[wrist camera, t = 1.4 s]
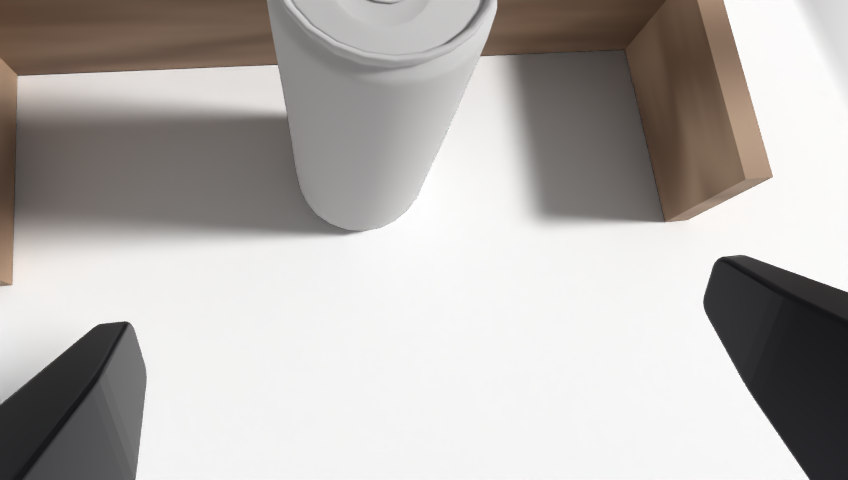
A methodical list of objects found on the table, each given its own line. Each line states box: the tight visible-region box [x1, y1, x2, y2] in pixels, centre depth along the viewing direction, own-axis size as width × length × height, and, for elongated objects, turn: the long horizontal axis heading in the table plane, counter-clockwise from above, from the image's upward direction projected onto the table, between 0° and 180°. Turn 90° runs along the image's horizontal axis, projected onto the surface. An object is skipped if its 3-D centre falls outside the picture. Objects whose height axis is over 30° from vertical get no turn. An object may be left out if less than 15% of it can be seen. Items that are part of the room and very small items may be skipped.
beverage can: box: [267, 0, 497, 231], centre depth 18 cm, size 5×5×12 cm
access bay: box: [0, 0, 773, 286], centre depth 21 cm, size 9×26×5 cm, turn 98°
